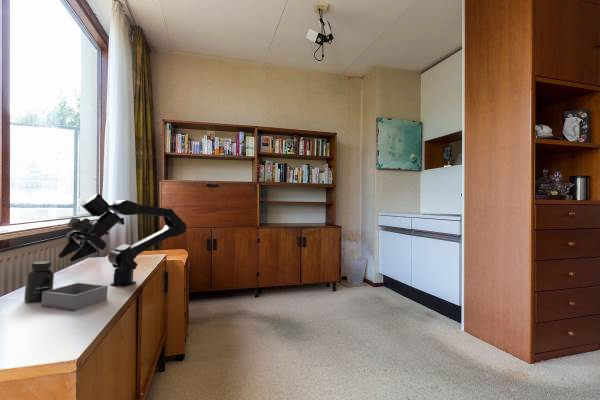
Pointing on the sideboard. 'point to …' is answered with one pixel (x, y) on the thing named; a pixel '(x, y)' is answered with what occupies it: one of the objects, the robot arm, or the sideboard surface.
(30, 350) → the sideboard surface
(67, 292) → the open box
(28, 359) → the sideboard surface
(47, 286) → the supplement bottle
